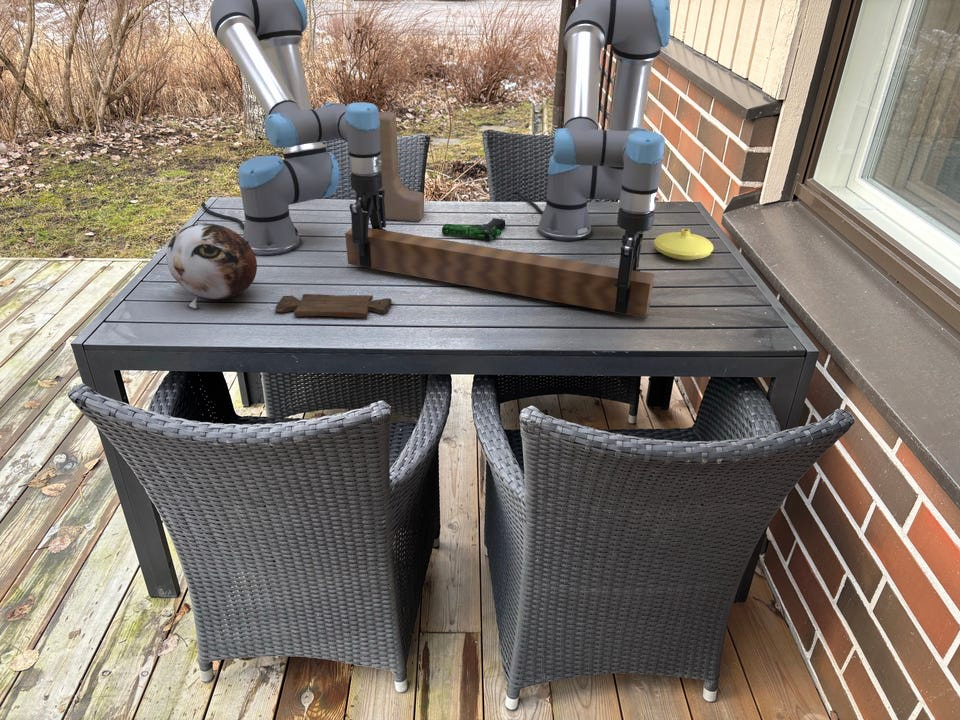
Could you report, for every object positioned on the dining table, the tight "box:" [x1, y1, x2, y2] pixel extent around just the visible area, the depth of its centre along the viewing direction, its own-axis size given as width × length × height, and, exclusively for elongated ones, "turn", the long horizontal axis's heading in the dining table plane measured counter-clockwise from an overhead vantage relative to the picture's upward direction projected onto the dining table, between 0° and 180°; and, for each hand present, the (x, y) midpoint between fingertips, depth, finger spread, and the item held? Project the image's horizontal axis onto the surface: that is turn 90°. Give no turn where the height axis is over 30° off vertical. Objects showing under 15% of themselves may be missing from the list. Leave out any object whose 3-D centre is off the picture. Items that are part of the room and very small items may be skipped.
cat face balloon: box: [165, 222, 258, 309], centre depth 165 cm, size 22×18×20 cm
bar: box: [344, 227, 655, 319], centre depth 171 cm, size 76×6×8 cm, turn 69°
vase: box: [653, 228, 715, 261], centre depth 193 cm, size 16×16×7 cm
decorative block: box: [378, 111, 425, 222], centre depth 210 cm, size 8×15×30 cm, turn 82°
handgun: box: [441, 217, 506, 242], centre depth 207 cm, size 16×3×15 cm
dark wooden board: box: [275, 293, 392, 318], centre depth 164 cm, size 26×2×10 cm
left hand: (371, 261), depth 183 cm, fingers closed on bar, 6 cm apart
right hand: (623, 306), depth 163 cm, fingers closed on bar, 6 cm apart
